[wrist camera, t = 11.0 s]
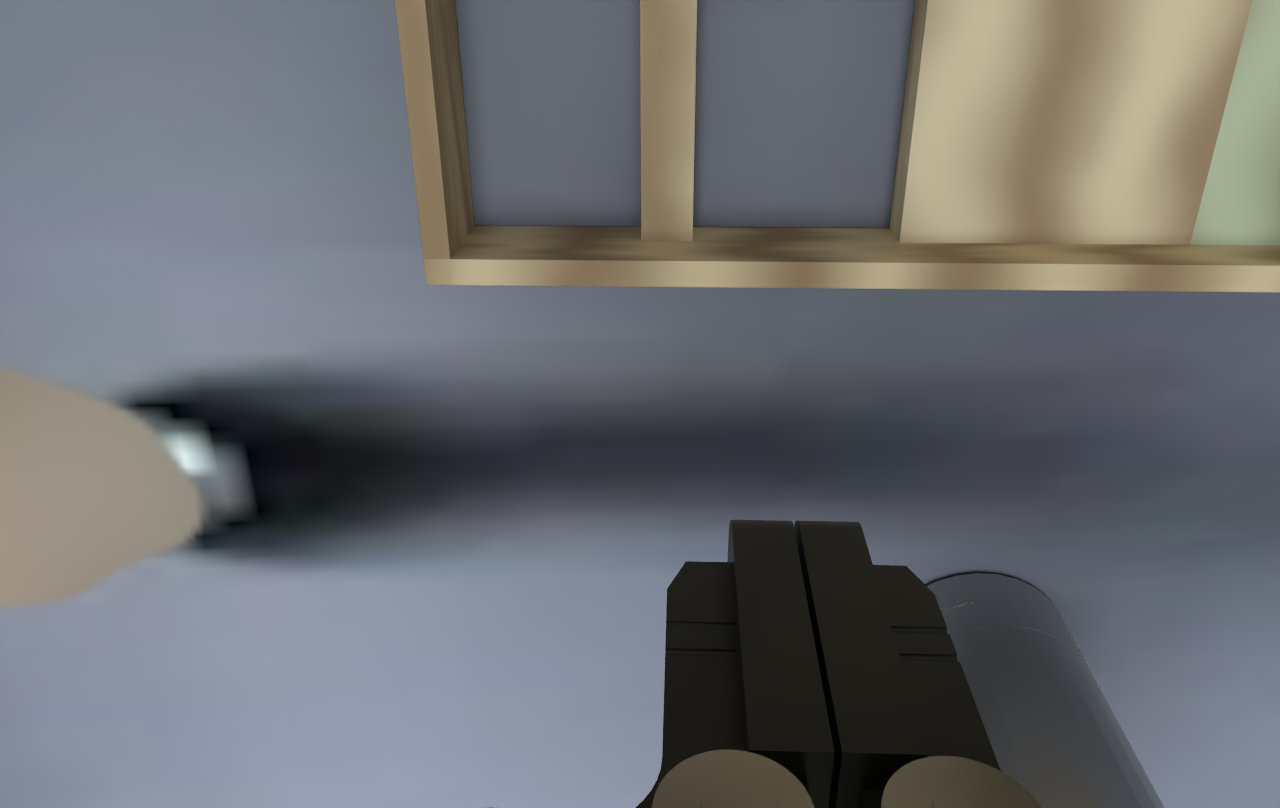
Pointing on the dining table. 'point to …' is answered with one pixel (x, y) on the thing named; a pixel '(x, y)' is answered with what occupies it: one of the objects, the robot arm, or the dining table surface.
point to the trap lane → (932, 160)
